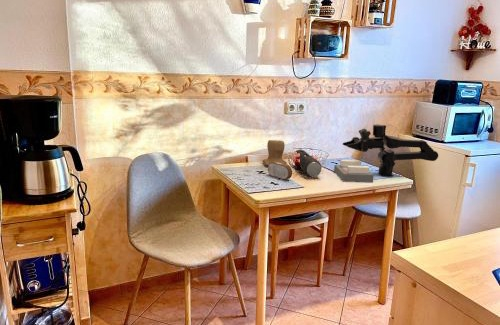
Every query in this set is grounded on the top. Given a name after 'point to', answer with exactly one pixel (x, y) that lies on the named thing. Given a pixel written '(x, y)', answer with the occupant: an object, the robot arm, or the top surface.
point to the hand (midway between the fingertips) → (344, 144)
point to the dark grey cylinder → (309, 164)
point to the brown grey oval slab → (279, 170)
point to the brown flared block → (275, 152)
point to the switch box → (352, 175)
